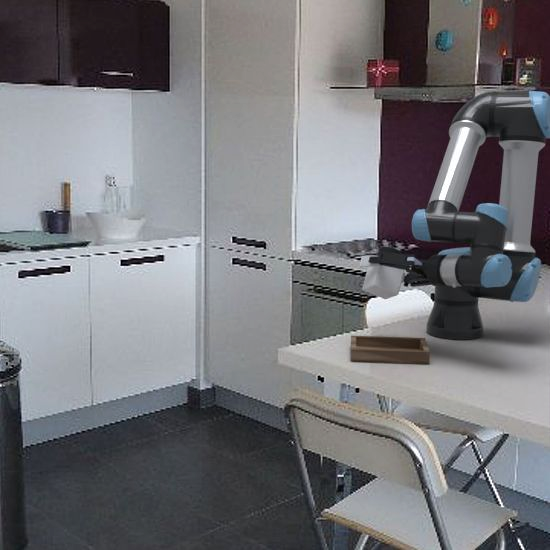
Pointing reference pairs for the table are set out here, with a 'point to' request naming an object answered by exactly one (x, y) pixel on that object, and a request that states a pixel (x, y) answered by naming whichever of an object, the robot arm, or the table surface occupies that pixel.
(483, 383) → the table surface
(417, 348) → the walnut tray
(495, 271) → the robot arm
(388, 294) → the medicine bottle
